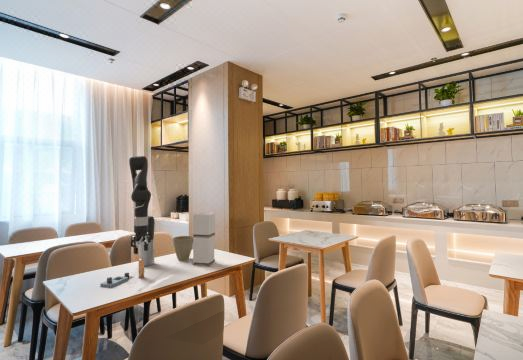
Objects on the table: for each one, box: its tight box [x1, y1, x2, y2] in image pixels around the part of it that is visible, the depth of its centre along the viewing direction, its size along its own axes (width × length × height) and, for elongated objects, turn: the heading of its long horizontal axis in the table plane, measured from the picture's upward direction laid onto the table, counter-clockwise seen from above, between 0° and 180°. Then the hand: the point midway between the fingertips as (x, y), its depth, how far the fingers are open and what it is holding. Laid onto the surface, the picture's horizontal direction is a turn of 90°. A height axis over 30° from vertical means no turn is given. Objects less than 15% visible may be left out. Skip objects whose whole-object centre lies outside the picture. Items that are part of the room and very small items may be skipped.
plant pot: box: [172, 235, 193, 262], centre depth 212 cm, size 15×15×16 cm
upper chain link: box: [100, 275, 128, 288], centre depth 159 cm, size 12×7×6 cm, turn 164°
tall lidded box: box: [192, 212, 216, 267], centre depth 201 cm, size 11×11×35 cm
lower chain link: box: [121, 272, 134, 284], centre depth 164 cm, size 12×7×4 cm, turn 164°
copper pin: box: [138, 259, 145, 279], centre depth 168 cm, size 3×3×12 cm
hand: (141, 252), depth 168 cm, fingers open, 8 cm apart
